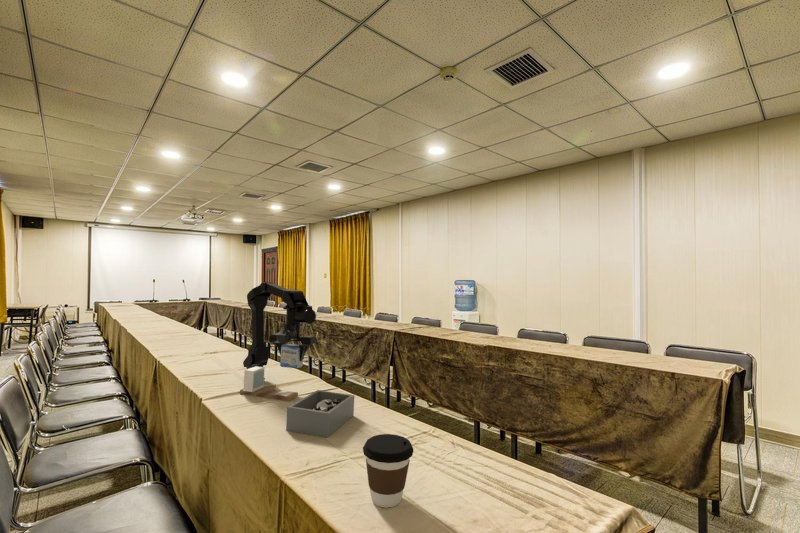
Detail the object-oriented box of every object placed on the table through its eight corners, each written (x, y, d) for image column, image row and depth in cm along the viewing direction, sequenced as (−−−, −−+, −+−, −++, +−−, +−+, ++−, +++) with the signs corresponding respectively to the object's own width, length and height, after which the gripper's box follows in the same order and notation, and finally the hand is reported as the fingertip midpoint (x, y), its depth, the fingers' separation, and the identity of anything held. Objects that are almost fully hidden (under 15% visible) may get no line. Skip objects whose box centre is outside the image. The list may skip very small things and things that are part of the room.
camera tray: (286, 430, 116) (287, 407, 116) (316, 410, 134) (317, 390, 134) (327, 437, 112) (328, 413, 112) (353, 415, 130) (354, 395, 130)
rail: (239, 393, 149) (240, 389, 149) (249, 389, 154) (250, 385, 154) (289, 401, 142) (289, 396, 142) (297, 396, 148) (298, 392, 148)
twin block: (243, 390, 148) (244, 370, 148) (255, 386, 154) (256, 366, 154) (252, 392, 146) (253, 371, 147) (264, 387, 153) (265, 367, 153)
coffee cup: (410, 486, 88) (412, 433, 88) (413, 516, 77) (415, 455, 77) (362, 485, 87) (364, 432, 88) (358, 515, 76) (361, 454, 77)
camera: (327, 416, 129) (327, 390, 129) (346, 421, 125) (345, 394, 125) (299, 432, 118) (299, 403, 117) (318, 437, 114) (318, 408, 113)
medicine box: (279, 366, 153) (280, 345, 153) (286, 364, 157) (286, 343, 157) (297, 368, 150) (298, 346, 151) (303, 366, 155) (303, 344, 155)
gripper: (261, 322, 149) (259, 362, 148) (303, 325, 144) (302, 366, 143) (277, 319, 160) (275, 356, 159) (317, 322, 155) (316, 360, 154)
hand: (291, 360), depth 154 cm, fingers closed on medicine box, 8 cm apart
